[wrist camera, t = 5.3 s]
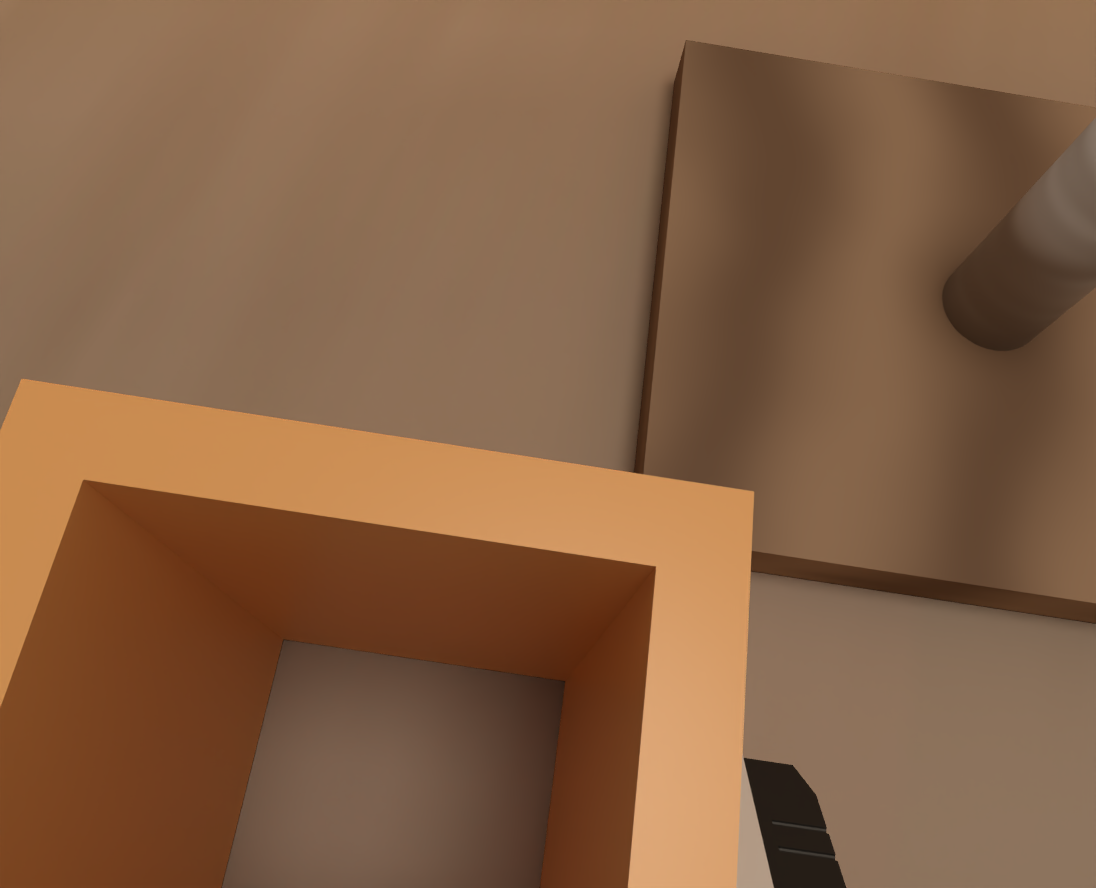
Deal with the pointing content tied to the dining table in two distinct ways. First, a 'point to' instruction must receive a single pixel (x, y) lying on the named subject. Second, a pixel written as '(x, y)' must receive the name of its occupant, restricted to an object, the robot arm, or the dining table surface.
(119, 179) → the dining table surface
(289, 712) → the dining table surface
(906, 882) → the dining table surface
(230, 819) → the spacer sleeve
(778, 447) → the shaft stand
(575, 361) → the dining table surface
